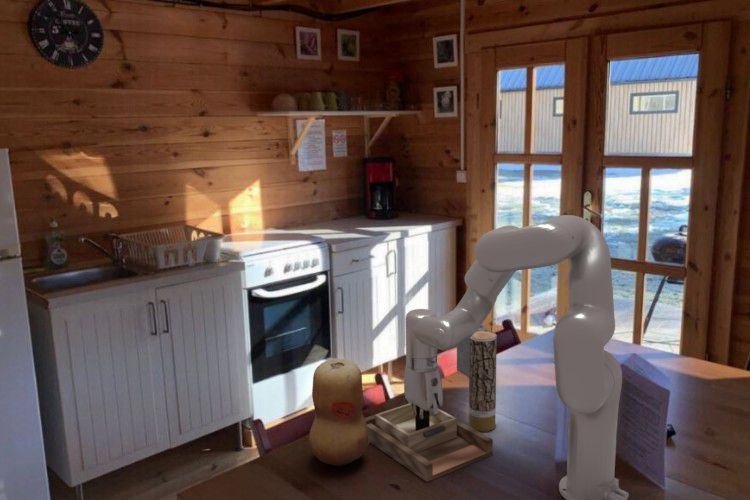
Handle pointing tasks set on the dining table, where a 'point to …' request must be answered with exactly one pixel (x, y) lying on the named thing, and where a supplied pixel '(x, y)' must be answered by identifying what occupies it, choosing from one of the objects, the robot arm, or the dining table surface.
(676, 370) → the dining table surface
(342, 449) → the butternut squash
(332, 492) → the dining table surface
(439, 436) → the crate
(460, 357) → the hip flask
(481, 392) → the wooden log
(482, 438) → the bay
